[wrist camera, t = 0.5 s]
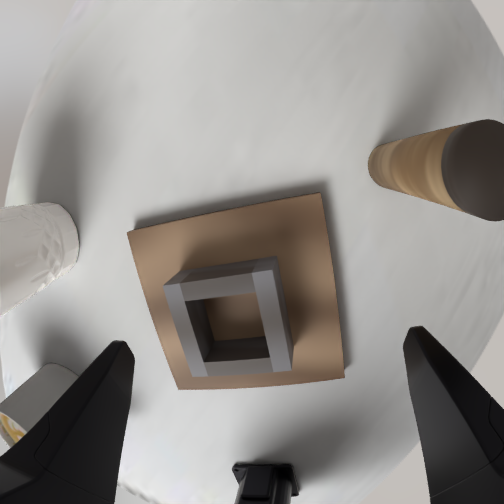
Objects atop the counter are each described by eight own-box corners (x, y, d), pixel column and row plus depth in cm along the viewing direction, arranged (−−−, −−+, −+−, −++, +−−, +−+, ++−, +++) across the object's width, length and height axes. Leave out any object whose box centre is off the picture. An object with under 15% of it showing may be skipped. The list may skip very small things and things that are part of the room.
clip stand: (343, 370, 24) (347, 402, 20) (182, 383, 27) (166, 411, 23) (319, 192, 21) (323, 197, 17) (133, 230, 23) (104, 241, 20)
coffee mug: (46, 404, 33) (3, 447, 23) (36, 349, 30) (-19, 393, 20) (130, 451, 32) (95, 508, 22) (132, 402, 29) (85, 468, 19)
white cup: (70, 183, 23) (-23, 199, 14) (96, 271, 25) (14, 319, 16) (20, 210, 25) (-59, 232, 16) (43, 285, 27) (-29, 326, 17)
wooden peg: (412, 185, 19) (531, 214, 7) (372, 191, 20) (460, 227, 8) (405, 141, 19) (521, 119, 6) (364, 146, 19) (446, 121, 7)
